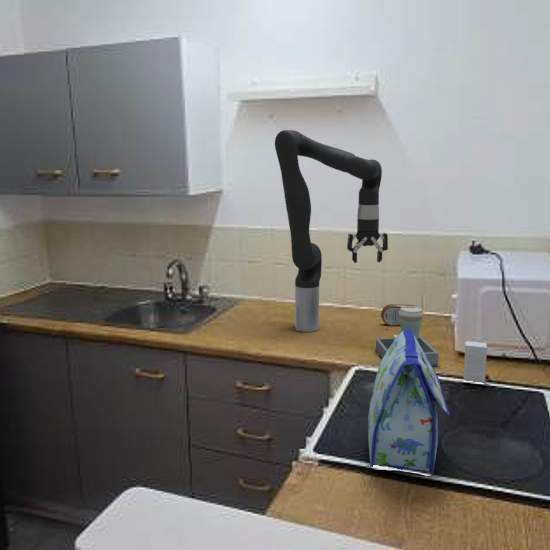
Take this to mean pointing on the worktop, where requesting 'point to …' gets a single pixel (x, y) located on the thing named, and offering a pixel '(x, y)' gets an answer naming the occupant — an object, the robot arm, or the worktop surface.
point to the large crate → (429, 351)
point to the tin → (392, 314)
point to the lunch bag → (405, 408)
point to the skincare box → (475, 361)
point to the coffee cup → (411, 319)
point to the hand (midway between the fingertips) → (367, 262)
